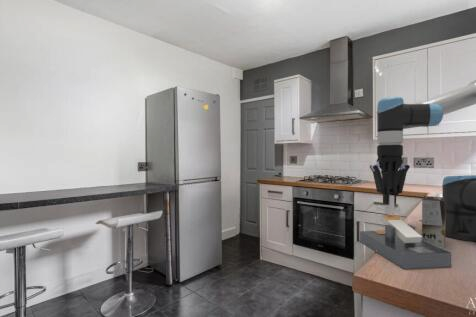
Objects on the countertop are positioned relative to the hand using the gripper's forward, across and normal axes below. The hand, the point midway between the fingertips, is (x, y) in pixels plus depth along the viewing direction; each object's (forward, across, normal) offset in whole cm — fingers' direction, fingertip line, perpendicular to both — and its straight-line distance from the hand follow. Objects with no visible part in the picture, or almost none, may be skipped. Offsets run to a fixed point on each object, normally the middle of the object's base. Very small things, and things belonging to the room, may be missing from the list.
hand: (389, 214), depth 88 cm
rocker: (+3, 0, +5) cm, 6 cm away
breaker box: (+11, 0, +5) cm, 12 cm away
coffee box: (+12, -18, -2) cm, 22 cm away
